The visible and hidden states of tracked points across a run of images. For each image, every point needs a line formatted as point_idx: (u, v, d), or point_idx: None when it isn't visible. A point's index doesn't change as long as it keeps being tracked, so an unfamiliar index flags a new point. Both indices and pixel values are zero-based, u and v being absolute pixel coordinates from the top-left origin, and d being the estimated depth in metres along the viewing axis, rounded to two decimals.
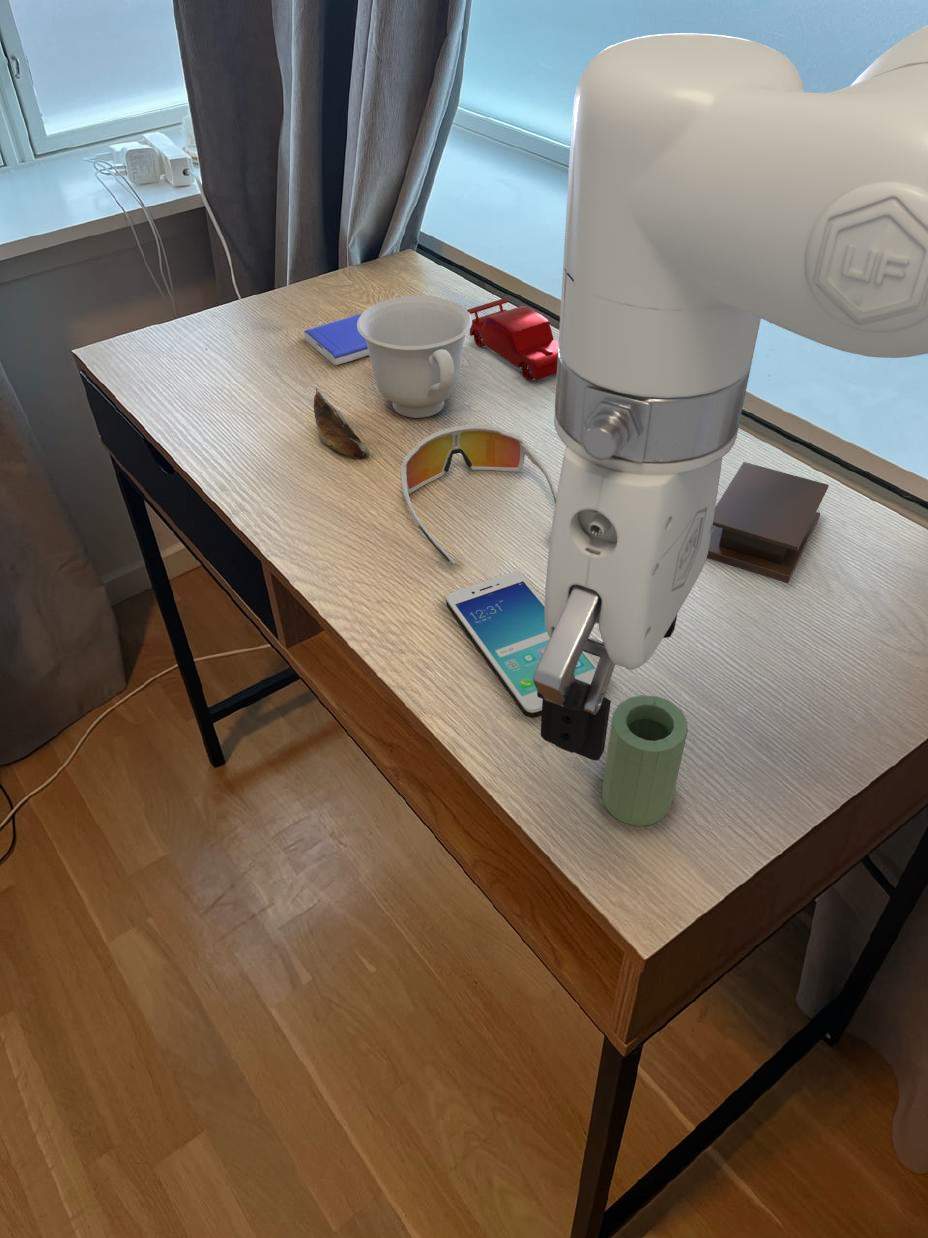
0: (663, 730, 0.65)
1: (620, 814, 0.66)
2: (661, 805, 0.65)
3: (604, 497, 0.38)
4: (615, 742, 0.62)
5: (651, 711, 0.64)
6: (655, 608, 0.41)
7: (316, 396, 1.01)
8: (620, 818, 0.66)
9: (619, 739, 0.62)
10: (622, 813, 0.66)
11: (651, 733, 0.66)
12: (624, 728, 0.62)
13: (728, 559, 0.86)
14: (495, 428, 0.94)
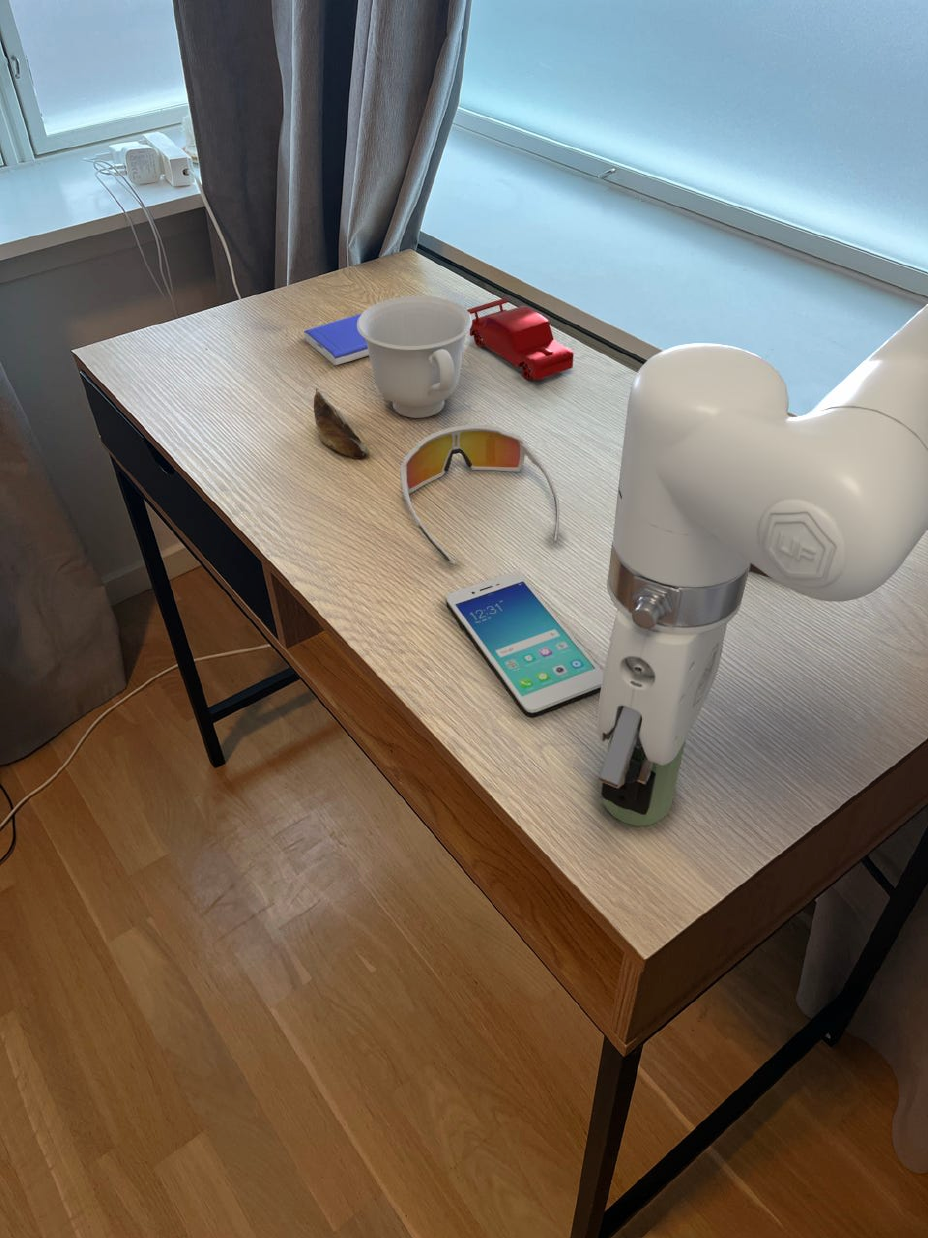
0: None
1: (620, 814, 0.66)
2: (661, 805, 0.65)
3: (646, 650, 0.52)
4: None
5: None
6: (681, 722, 0.55)
7: (316, 396, 1.01)
8: (620, 818, 0.66)
9: None
10: (622, 813, 0.66)
11: None
12: None
13: None
14: (495, 428, 0.94)
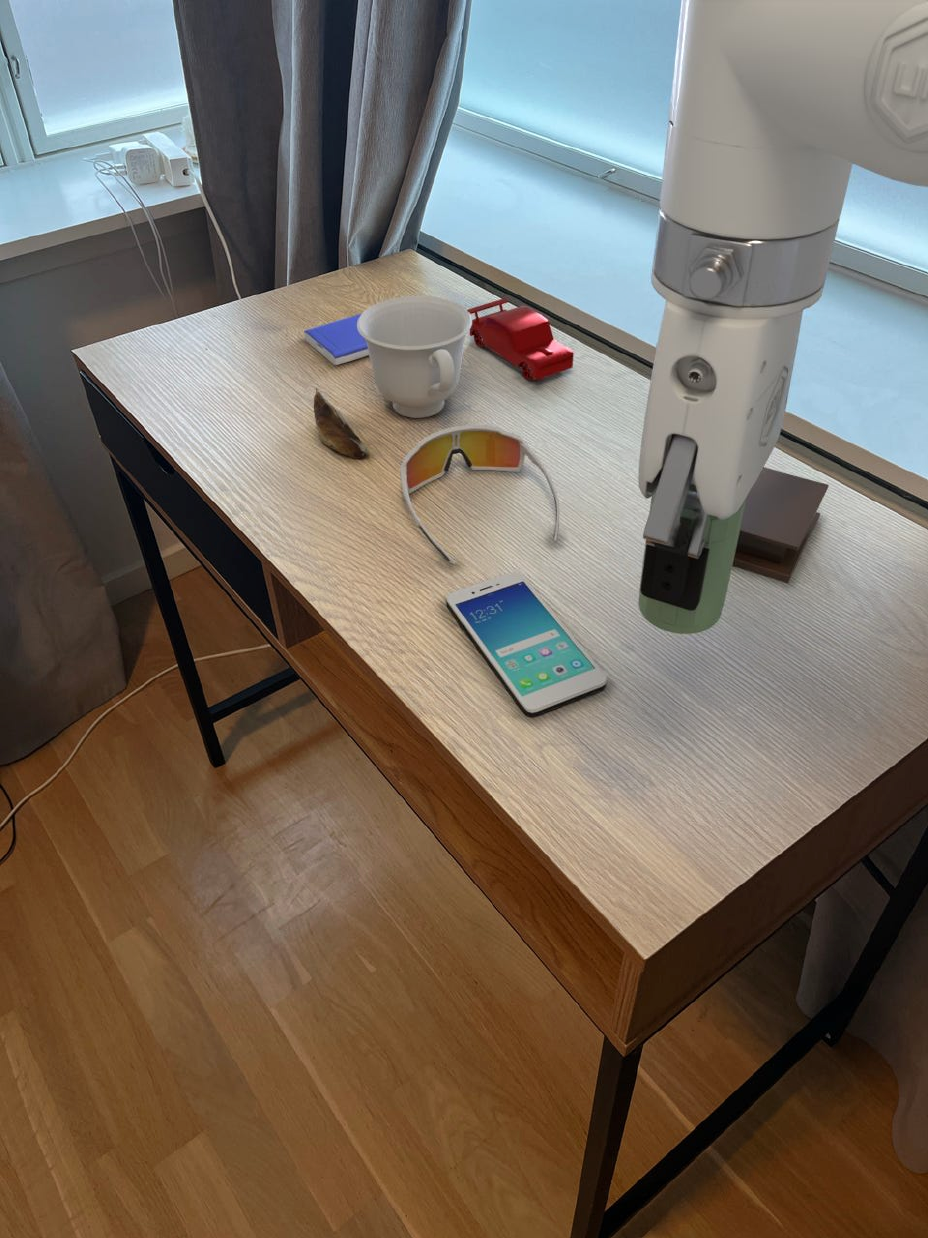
0: None
1: (662, 619, 0.54)
2: (712, 604, 0.54)
3: (705, 341, 0.41)
4: None
5: None
6: (746, 456, 0.44)
7: (316, 396, 1.01)
8: (662, 626, 0.55)
9: None
10: (664, 618, 0.54)
11: None
12: None
13: None
14: (495, 428, 0.94)
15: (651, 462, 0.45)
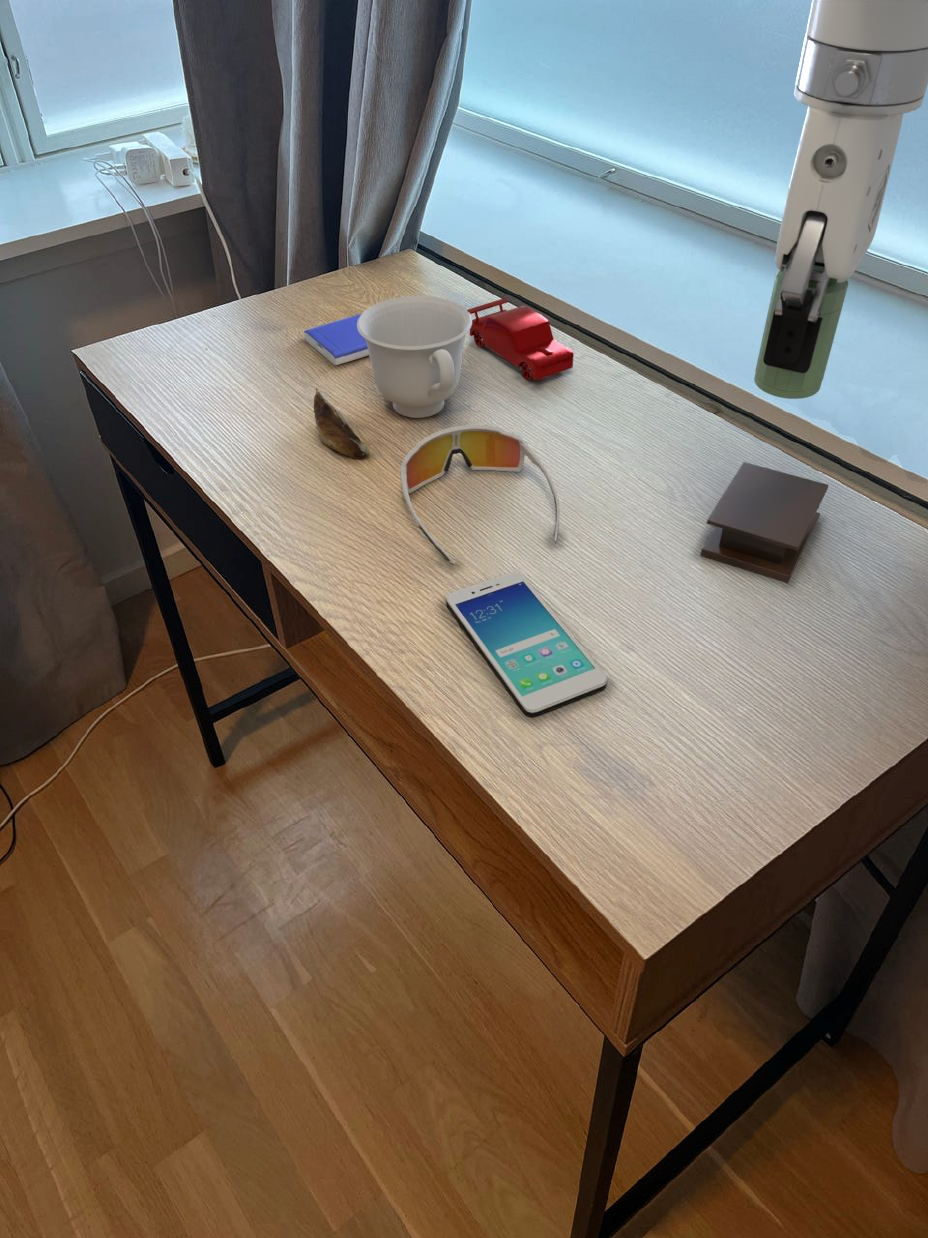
0: None
1: (776, 386, 0.70)
2: (816, 373, 0.69)
3: (840, 132, 0.57)
4: None
5: None
6: (861, 229, 0.60)
7: (316, 396, 1.01)
8: (775, 392, 0.71)
9: None
10: (778, 385, 0.70)
11: None
12: None
13: (728, 559, 0.86)
14: (495, 428, 0.94)
15: (789, 236, 0.61)
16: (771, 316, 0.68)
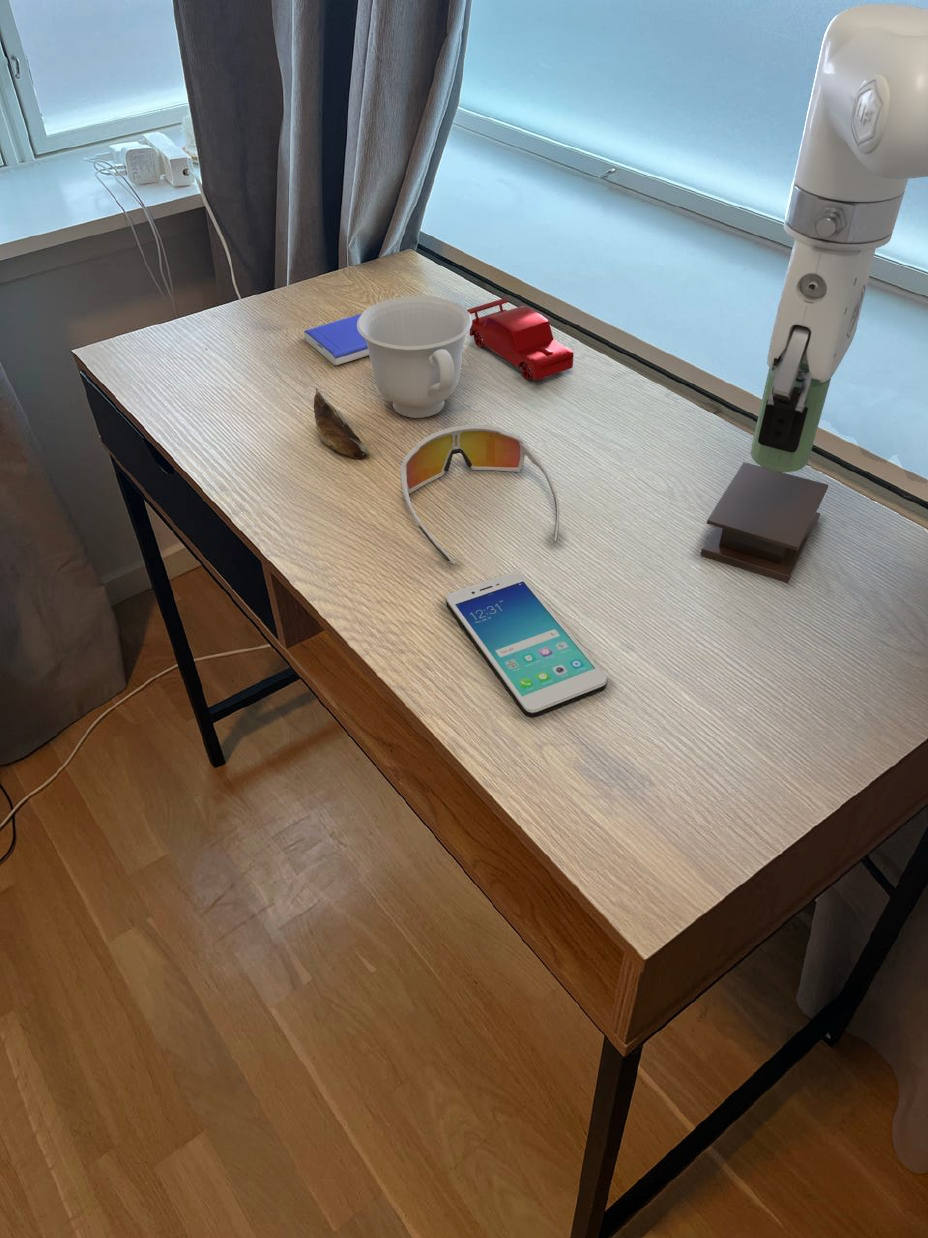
0: None
1: (769, 461, 0.81)
2: (804, 450, 0.80)
3: (821, 264, 0.67)
4: None
5: None
6: (840, 340, 0.71)
7: (316, 396, 1.01)
8: (768, 466, 0.82)
9: None
10: (771, 460, 0.81)
11: None
12: None
13: (728, 559, 0.86)
14: (495, 428, 0.94)
15: (778, 344, 0.72)
16: (765, 403, 0.79)
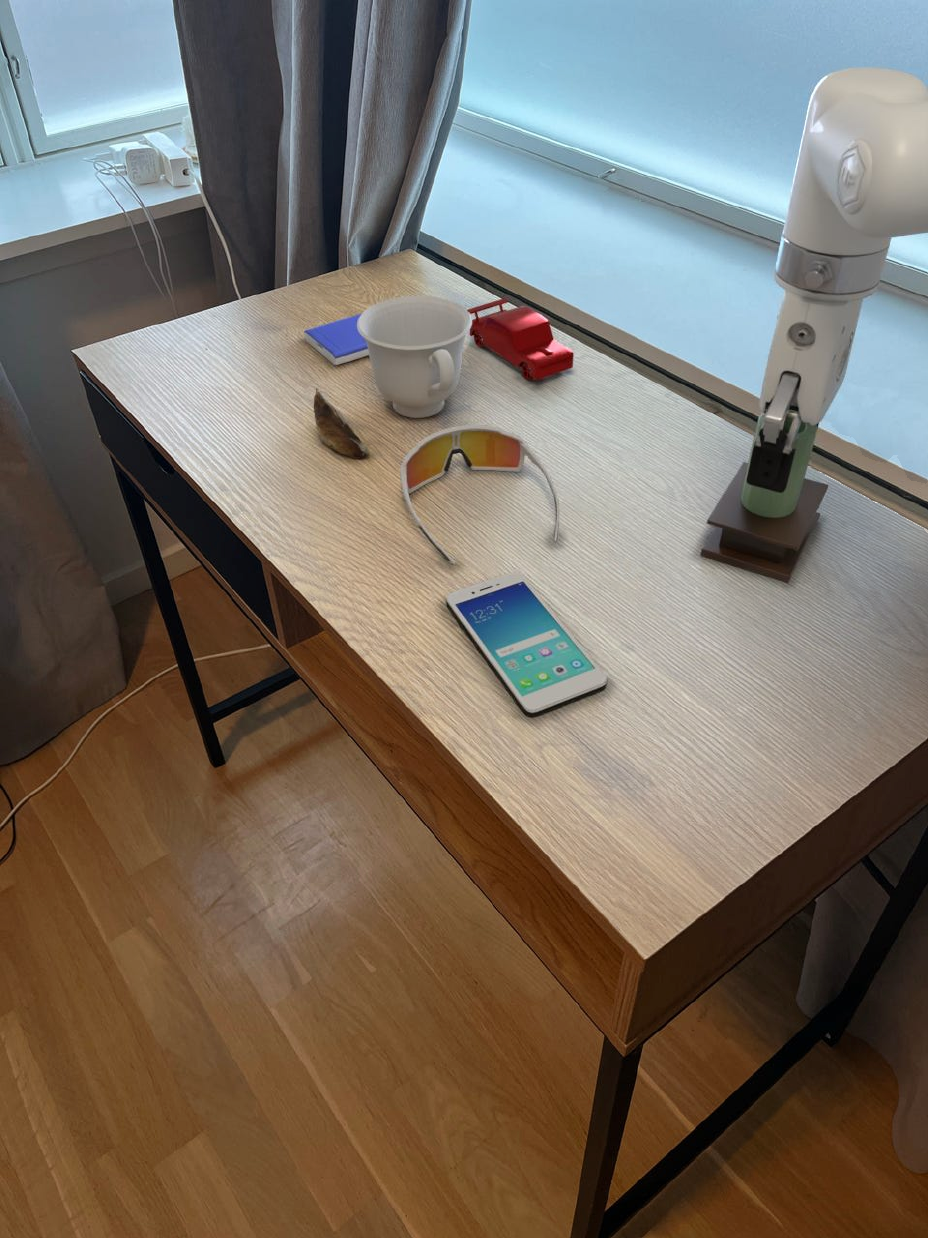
0: None
1: (758, 507, 0.84)
2: (792, 497, 0.83)
3: (810, 314, 0.70)
4: None
5: None
6: (829, 385, 0.73)
7: (316, 396, 1.01)
8: (758, 512, 0.85)
9: None
10: (760, 506, 0.84)
11: None
12: None
13: (728, 559, 0.86)
14: (495, 428, 0.94)
15: (770, 389, 0.74)
16: None
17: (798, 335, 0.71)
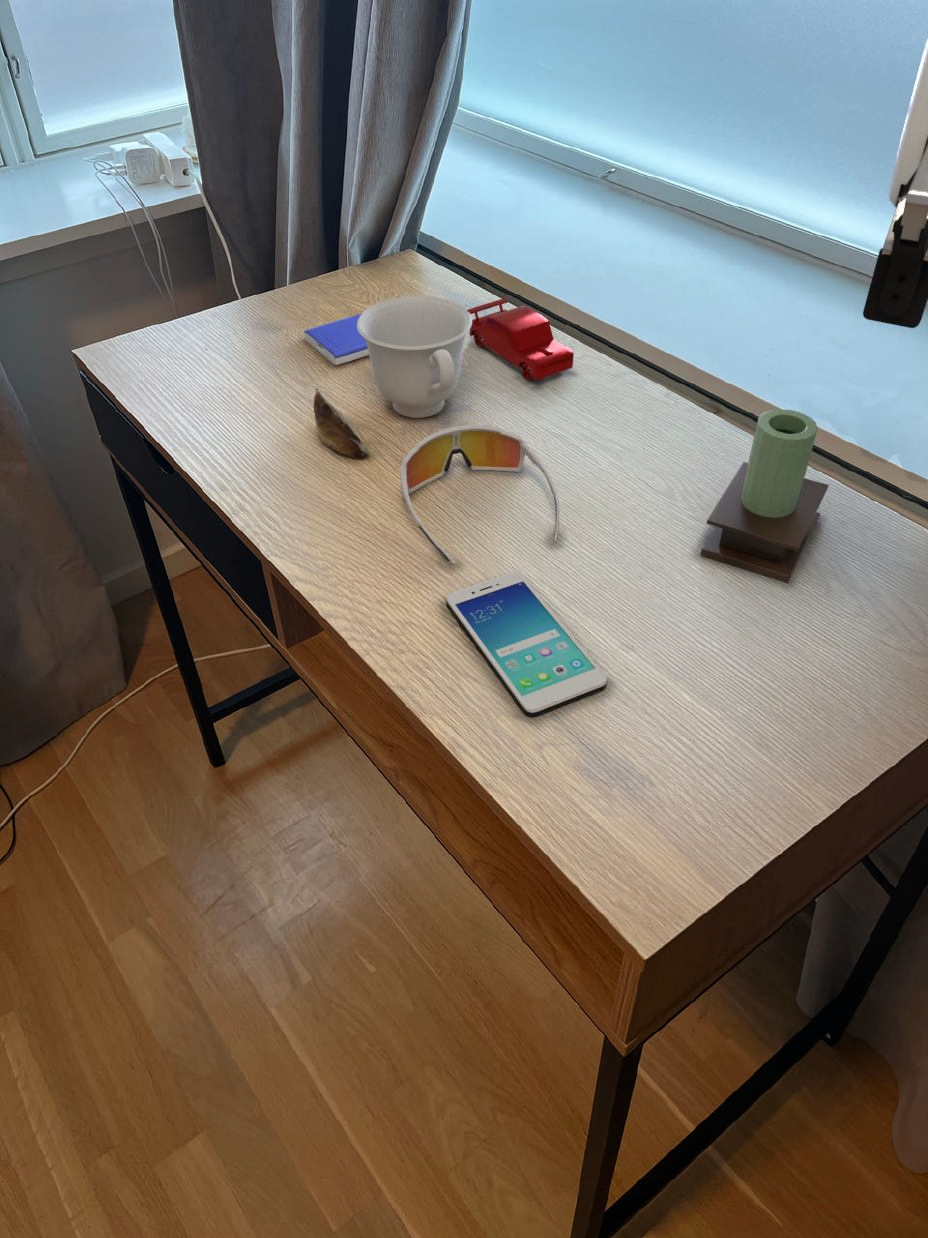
0: None
1: (758, 507, 0.84)
2: (792, 497, 0.83)
3: None
4: (761, 438, 0.81)
5: (786, 420, 0.82)
6: None
7: (316, 396, 1.01)
8: (758, 512, 0.85)
9: (765, 434, 0.80)
10: (760, 506, 0.84)
11: None
12: (768, 427, 0.81)
13: (728, 559, 0.86)
14: (495, 428, 0.94)
15: (909, 162, 0.51)
16: (754, 452, 0.82)
17: None
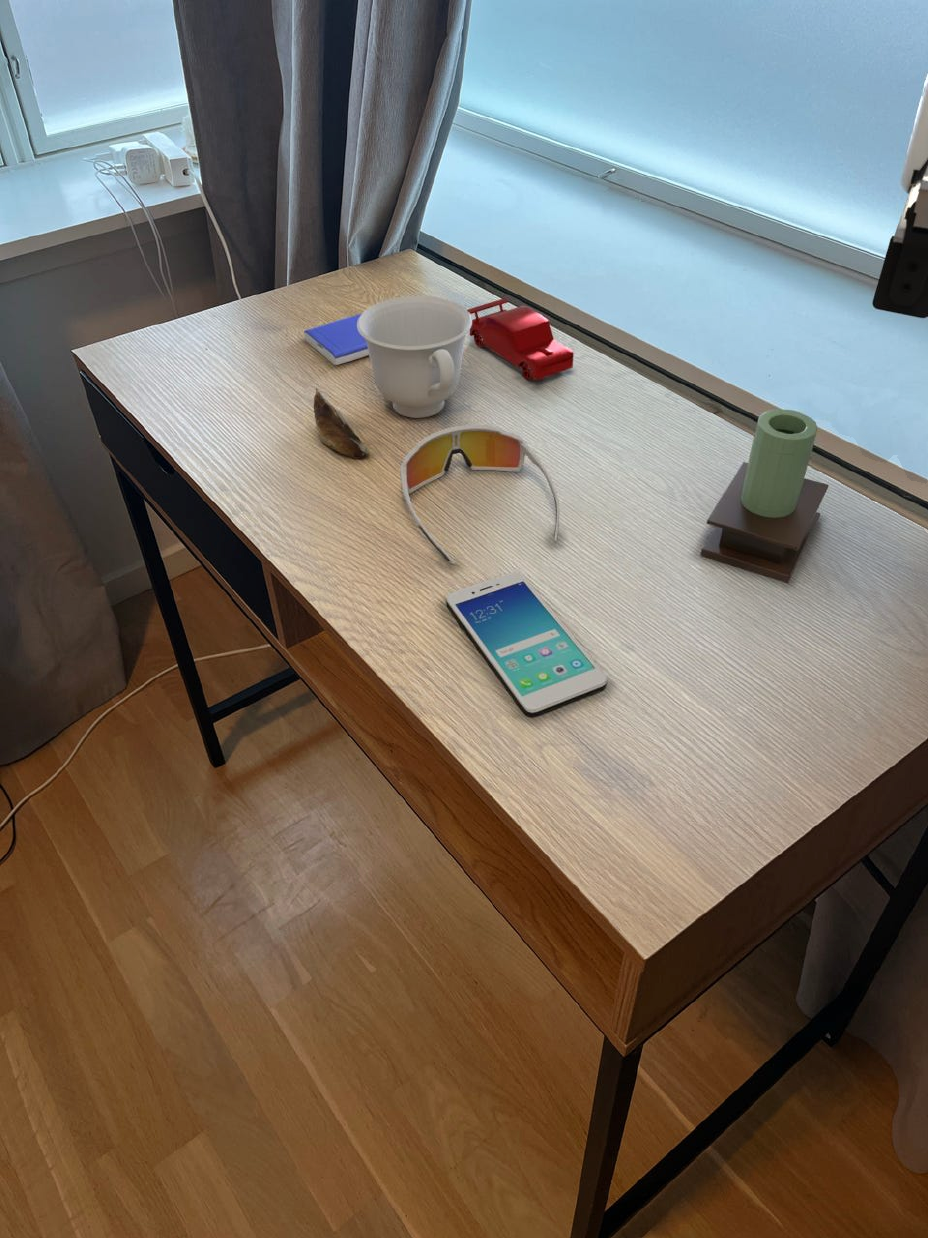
0: None
1: (758, 507, 0.84)
2: (792, 497, 0.83)
3: None
4: (761, 438, 0.81)
5: (786, 420, 0.82)
6: None
7: (316, 396, 1.01)
8: (758, 512, 0.85)
9: (765, 434, 0.80)
10: (760, 506, 0.84)
11: None
12: (768, 427, 0.81)
13: (728, 559, 0.86)
14: (495, 428, 0.94)
15: (923, 147, 0.50)
16: (754, 452, 0.82)
17: None
